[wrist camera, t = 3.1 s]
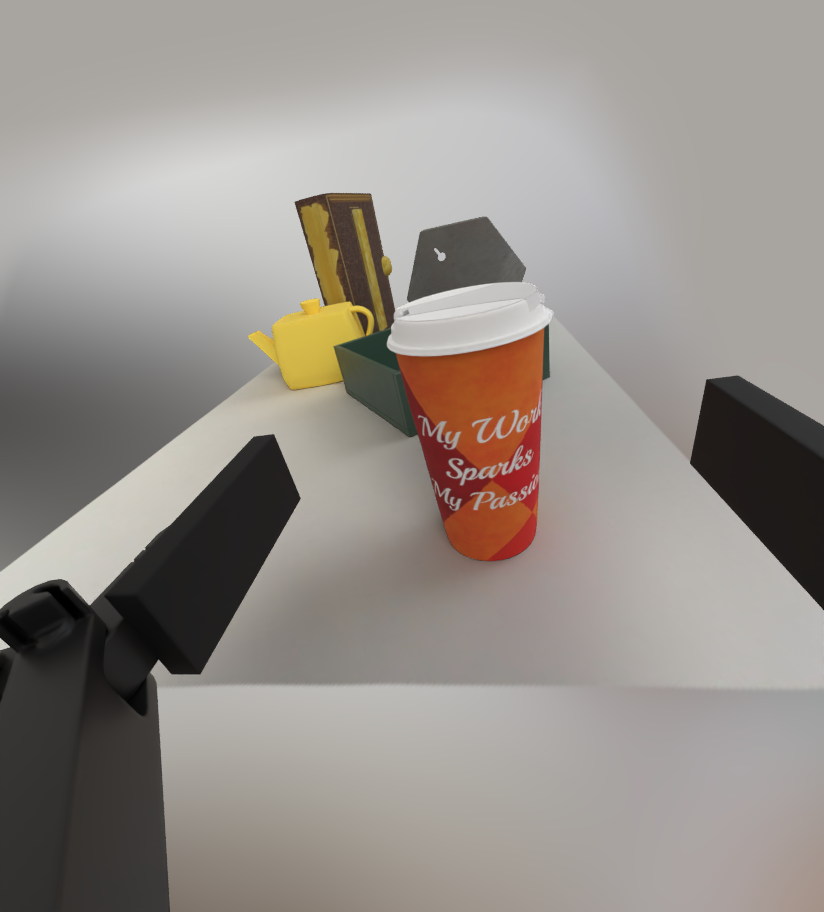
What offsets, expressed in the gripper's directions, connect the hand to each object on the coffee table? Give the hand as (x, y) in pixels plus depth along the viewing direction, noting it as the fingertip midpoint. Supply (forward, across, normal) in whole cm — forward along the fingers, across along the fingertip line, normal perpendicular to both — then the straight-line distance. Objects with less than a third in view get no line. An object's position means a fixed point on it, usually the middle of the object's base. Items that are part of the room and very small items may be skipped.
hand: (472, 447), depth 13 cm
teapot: (+51, -25, -12) cm, 58 cm away
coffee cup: (+10, 0, -12) cm, 16 cm away
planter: (+62, 0, -12) cm, 63 cm away
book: (+69, -20, -12) cm, 73 cm away
